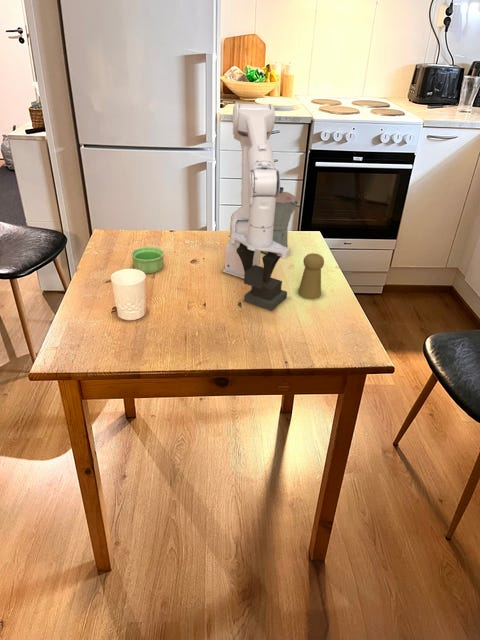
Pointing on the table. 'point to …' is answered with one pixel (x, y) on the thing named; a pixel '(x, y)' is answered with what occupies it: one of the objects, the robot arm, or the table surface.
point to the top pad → (255, 277)
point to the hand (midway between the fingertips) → (257, 277)
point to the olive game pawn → (311, 277)
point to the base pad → (264, 302)
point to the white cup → (129, 293)
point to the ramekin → (148, 259)
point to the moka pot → (283, 216)
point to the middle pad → (268, 289)
